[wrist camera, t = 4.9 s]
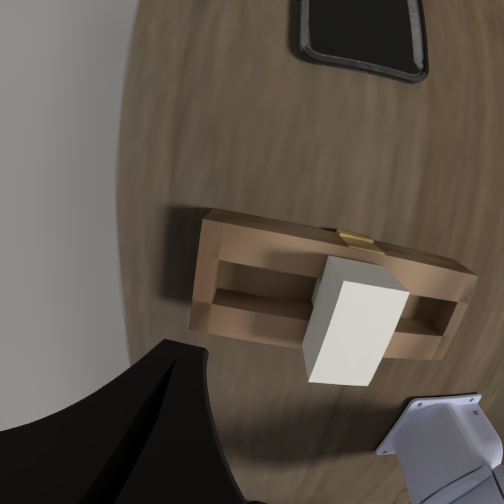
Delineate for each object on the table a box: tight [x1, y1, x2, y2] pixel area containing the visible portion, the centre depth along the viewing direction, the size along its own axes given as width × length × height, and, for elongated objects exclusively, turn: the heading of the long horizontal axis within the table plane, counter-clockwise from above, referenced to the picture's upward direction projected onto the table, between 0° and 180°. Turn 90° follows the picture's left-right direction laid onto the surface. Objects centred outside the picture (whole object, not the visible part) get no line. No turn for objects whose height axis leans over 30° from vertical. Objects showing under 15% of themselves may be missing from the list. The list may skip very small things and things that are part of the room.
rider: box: [302, 255, 410, 386], centre depth 14 cm, size 3×5×5 cm, turn 170°
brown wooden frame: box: [189, 208, 479, 360], centre depth 16 cm, size 16×6×3 cm, turn 80°
